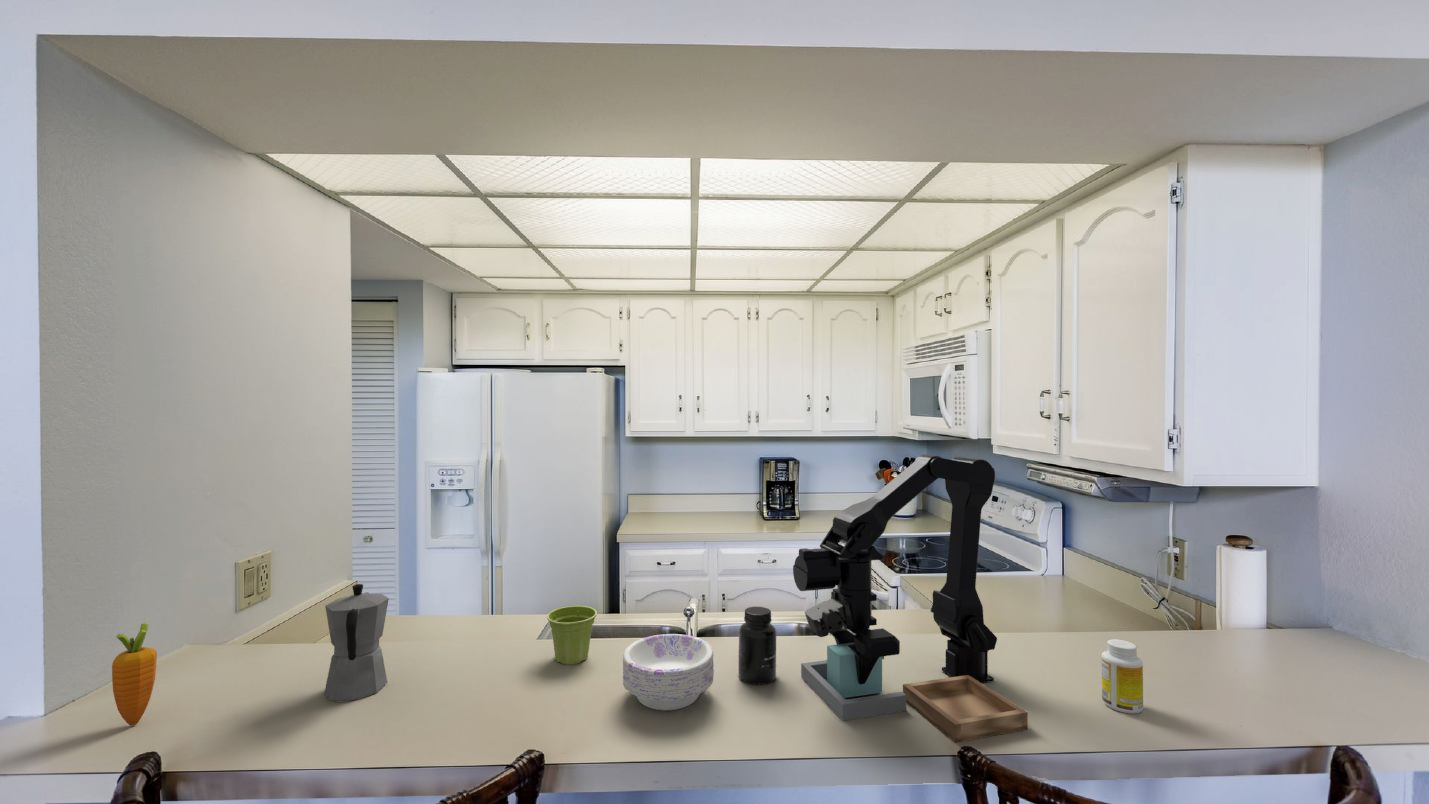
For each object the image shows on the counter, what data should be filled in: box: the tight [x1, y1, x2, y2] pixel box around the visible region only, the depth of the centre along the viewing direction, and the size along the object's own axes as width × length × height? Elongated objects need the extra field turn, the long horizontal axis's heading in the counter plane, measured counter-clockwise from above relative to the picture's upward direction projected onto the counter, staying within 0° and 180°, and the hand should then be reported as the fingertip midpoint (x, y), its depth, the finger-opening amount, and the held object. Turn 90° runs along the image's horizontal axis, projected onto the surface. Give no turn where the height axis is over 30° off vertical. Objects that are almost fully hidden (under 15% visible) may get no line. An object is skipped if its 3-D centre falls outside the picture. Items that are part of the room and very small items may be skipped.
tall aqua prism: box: [826, 643, 885, 699], centre depth 100 cm, size 9×4×7 cm, turn 106°
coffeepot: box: [324, 583, 389, 703], centre depth 100 cm, size 15×9×18 cm, turn 25°
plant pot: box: [546, 605, 598, 666], centre depth 113 cm, size 9×9×9 cm
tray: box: [902, 675, 1029, 743], centre depth 93 cm, size 13×13×3 cm
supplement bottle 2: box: [1101, 638, 1144, 715], centre depth 96 cm, size 6×6×10 cm
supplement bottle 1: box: [737, 606, 777, 685], centre depth 106 cm, size 7×7×12 cm
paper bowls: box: [622, 633, 715, 712], centre depth 98 cm, size 15×15×8 cm
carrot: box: [111, 622, 158, 726], centre depth 89 cm, size 5×5×15 cm
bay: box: [800, 659, 907, 722], centre depth 100 cm, size 11×15×2 cm
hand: (854, 677), depth 100 cm, fingers closed on tall aqua prism, 4 cm apart
